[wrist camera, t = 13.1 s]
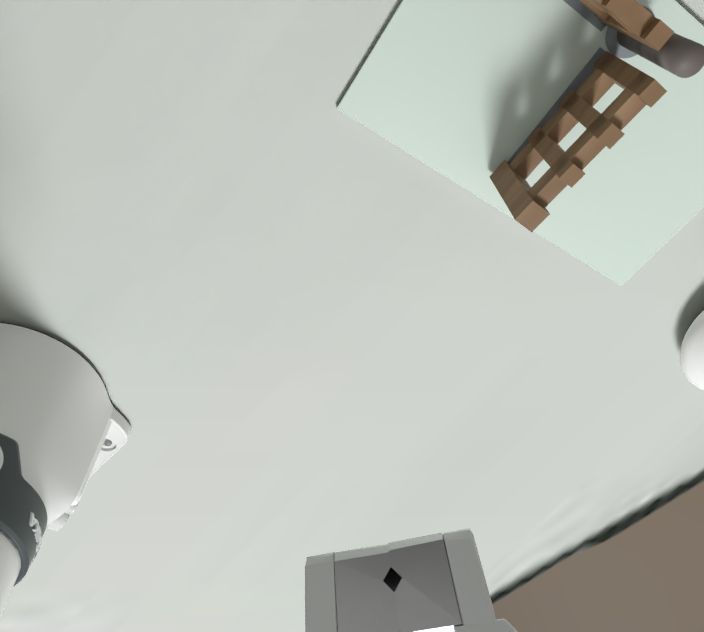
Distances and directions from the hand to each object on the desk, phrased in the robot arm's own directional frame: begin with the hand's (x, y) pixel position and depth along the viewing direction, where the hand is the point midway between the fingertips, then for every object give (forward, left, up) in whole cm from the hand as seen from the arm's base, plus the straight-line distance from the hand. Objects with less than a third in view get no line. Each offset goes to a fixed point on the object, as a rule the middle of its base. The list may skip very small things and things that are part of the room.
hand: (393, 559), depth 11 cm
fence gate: (+5, -12, -30) cm, 33 cm away
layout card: (+7, -13, -31) cm, 34 cm away
